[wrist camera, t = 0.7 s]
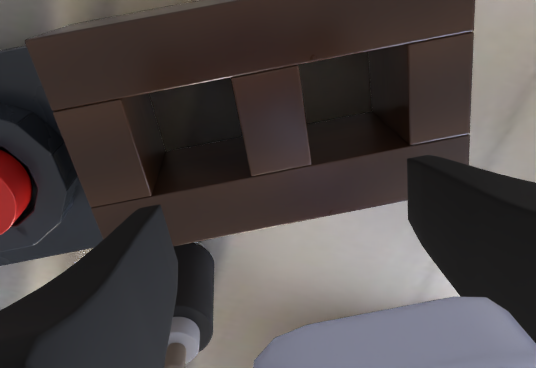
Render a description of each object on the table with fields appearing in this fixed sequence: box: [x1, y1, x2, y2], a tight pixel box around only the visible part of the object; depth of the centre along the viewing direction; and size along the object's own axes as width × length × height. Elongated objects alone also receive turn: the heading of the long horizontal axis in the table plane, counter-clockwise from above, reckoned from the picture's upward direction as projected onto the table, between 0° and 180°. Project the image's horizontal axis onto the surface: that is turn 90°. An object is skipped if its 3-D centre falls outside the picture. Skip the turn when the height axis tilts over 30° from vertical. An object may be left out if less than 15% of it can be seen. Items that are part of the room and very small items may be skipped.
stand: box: [25, 0, 475, 246], centre depth 19 cm, size 9×16×5 cm, turn 99°
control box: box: [0, 46, 103, 266], centre depth 20 cm, size 10×8×3 cm
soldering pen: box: [164, 243, 214, 368], centre depth 22 cm, size 3×3×8 cm
